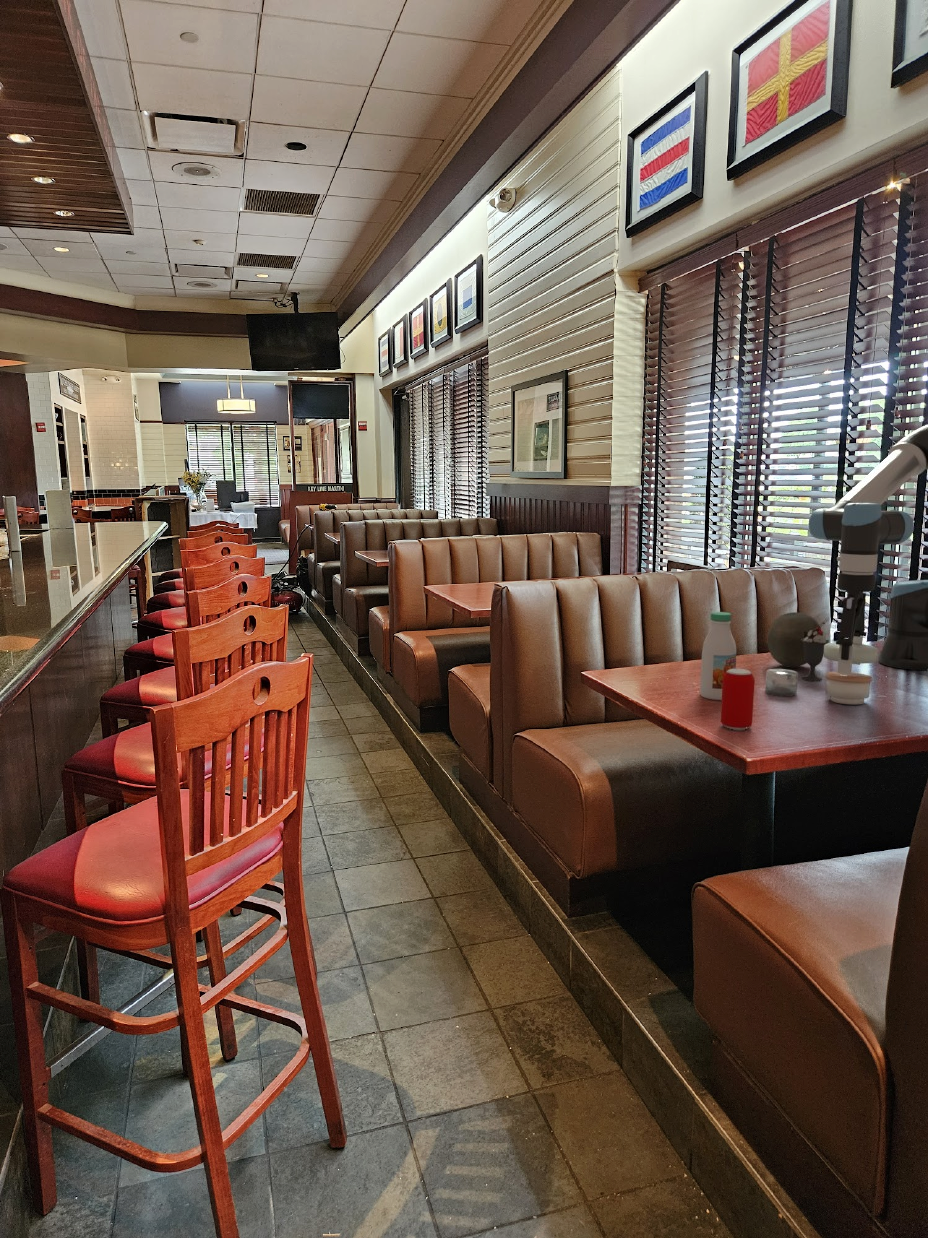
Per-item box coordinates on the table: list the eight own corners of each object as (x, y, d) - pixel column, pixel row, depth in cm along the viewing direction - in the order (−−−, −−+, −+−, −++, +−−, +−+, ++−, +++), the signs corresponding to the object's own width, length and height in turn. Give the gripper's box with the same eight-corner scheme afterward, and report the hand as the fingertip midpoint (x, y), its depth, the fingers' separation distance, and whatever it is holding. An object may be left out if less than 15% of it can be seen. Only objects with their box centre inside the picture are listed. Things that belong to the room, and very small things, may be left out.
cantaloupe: (754, 663, 222) (757, 610, 220) (799, 660, 225) (802, 607, 223) (785, 675, 209) (789, 618, 206) (832, 672, 212) (836, 616, 209)
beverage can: (756, 731, 164) (760, 674, 162) (727, 732, 163) (730, 675, 161) (744, 722, 170) (747, 667, 168) (715, 723, 169) (718, 668, 167)
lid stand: (784, 687, 197) (785, 668, 196) (802, 695, 190) (804, 674, 189) (759, 689, 195) (760, 669, 194) (777, 697, 188) (778, 676, 188)
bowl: (838, 695, 191) (839, 670, 190) (878, 702, 183) (880, 676, 183) (815, 699, 185) (817, 674, 185) (856, 707, 178) (857, 680, 177)
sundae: (829, 683, 201) (833, 624, 198) (800, 681, 202) (804, 623, 200) (823, 676, 207) (827, 619, 205) (795, 675, 209) (799, 618, 206)
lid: (853, 651, 189) (854, 641, 189) (888, 662, 179) (889, 650, 178) (813, 654, 186) (813, 643, 186) (846, 664, 176) (847, 653, 175)
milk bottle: (698, 699, 187) (702, 614, 184) (701, 691, 195) (705, 609, 191) (733, 702, 185) (737, 616, 181) (735, 694, 192) (739, 611, 188)
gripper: (848, 566, 191) (841, 657, 194) (828, 576, 172) (820, 676, 176) (883, 568, 186) (875, 661, 190) (866, 579, 168) (858, 681, 171)
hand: (849, 668), depth 183 cm, fingers closed on lid, 11 cm apart
